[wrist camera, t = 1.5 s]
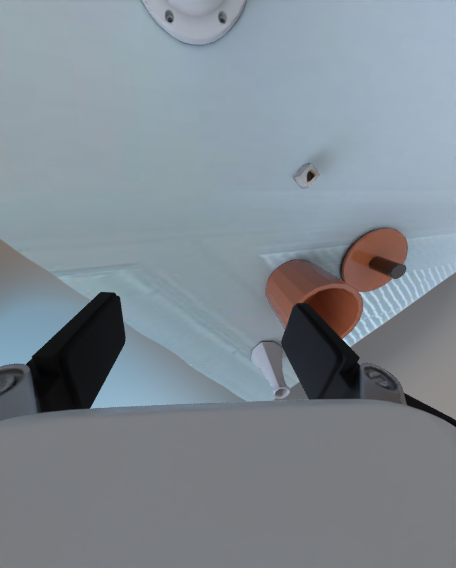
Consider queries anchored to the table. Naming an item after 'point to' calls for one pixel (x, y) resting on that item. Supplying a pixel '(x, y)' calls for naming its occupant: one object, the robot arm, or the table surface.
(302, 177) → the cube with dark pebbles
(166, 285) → the table surface
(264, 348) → the flask
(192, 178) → the table surface
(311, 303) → the canister
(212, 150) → the table surface
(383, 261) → the lid
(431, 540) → the robot arm
